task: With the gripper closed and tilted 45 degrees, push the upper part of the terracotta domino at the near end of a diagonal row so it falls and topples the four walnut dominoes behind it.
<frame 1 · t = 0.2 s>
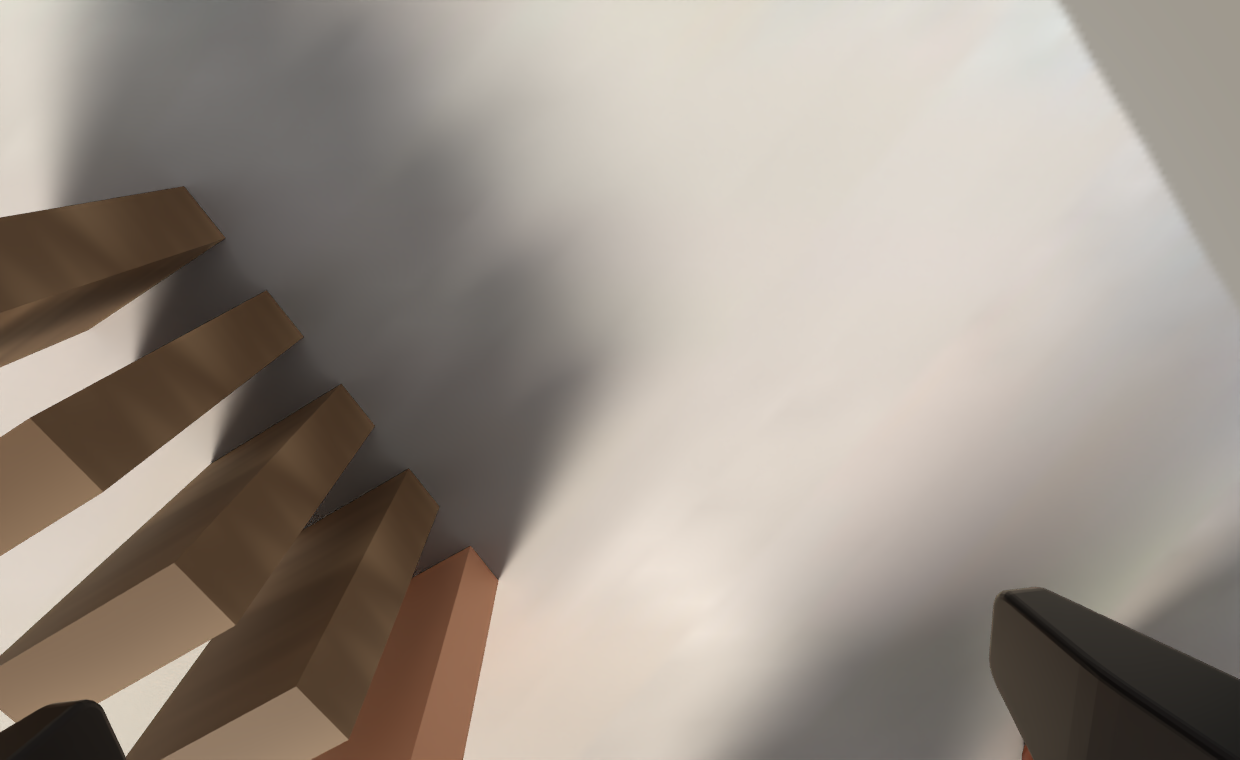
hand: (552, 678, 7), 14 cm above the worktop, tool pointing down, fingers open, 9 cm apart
terracotta domino: (422, 597, 24), on the worktop
walnut domino 2: (360, 524, 23), on the worktop
walnut domino 3: (292, 445, 22), on the worktop
walnut domino 4: (217, 357, 21), on the worktop
walnut domino 5: (134, 260, 19), on the worktop
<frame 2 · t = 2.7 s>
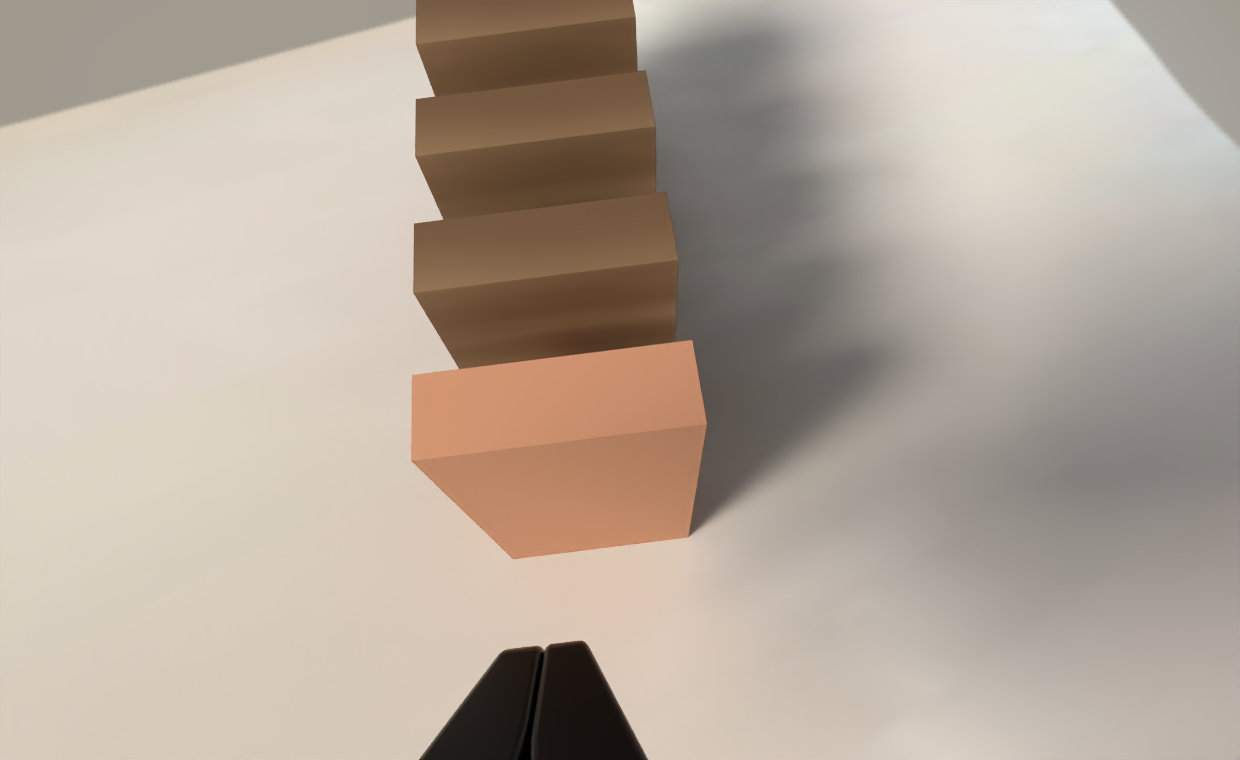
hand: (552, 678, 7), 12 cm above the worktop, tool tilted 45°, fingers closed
terracotta domino: (597, 520, 20), on the worktop
walnut domino 2: (587, 414, 22), on the worktop
walnut domino 3: (577, 321, 23), on the worktop
walnut domino 4: (569, 238, 25), on the worktop
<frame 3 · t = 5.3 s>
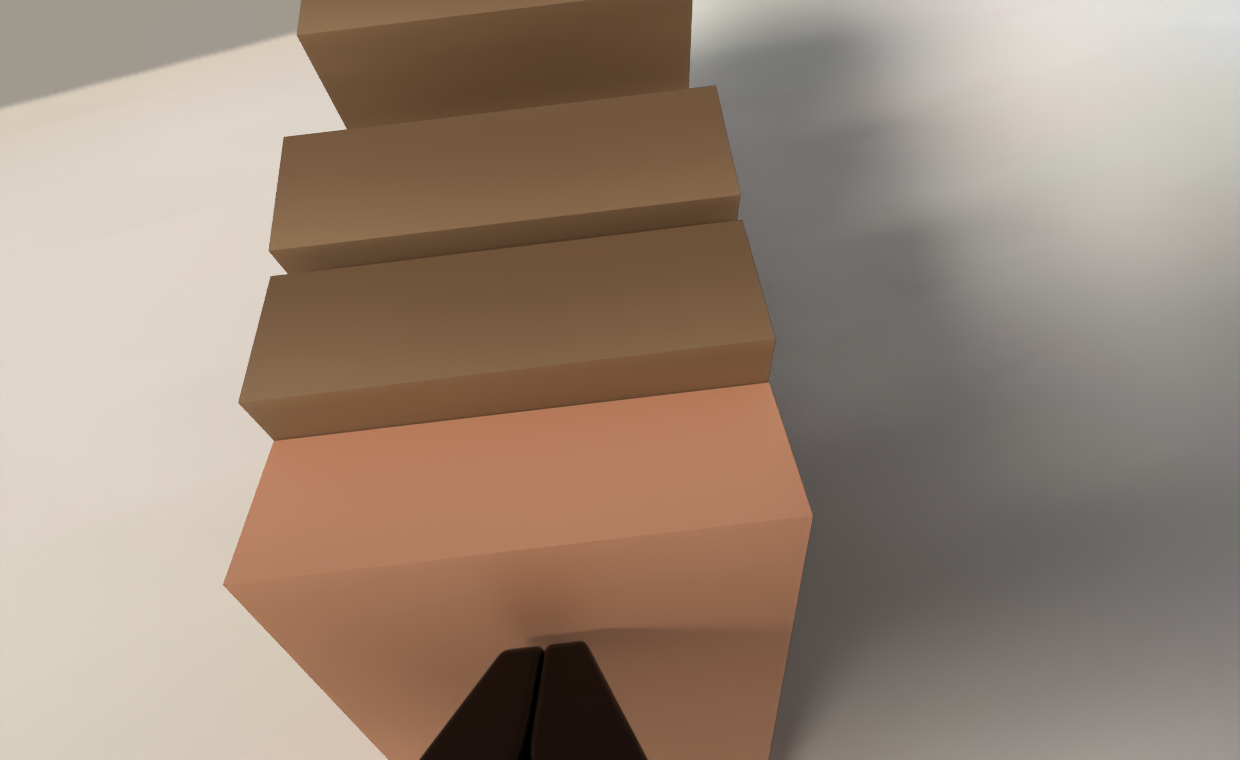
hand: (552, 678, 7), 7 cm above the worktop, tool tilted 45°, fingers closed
walnut domino 2: (596, 595, 14), on the worktop, tilted 9°
walnut domino 3: (583, 445, 16), on the worktop
walnut domino 4: (572, 319, 17), on the worktop
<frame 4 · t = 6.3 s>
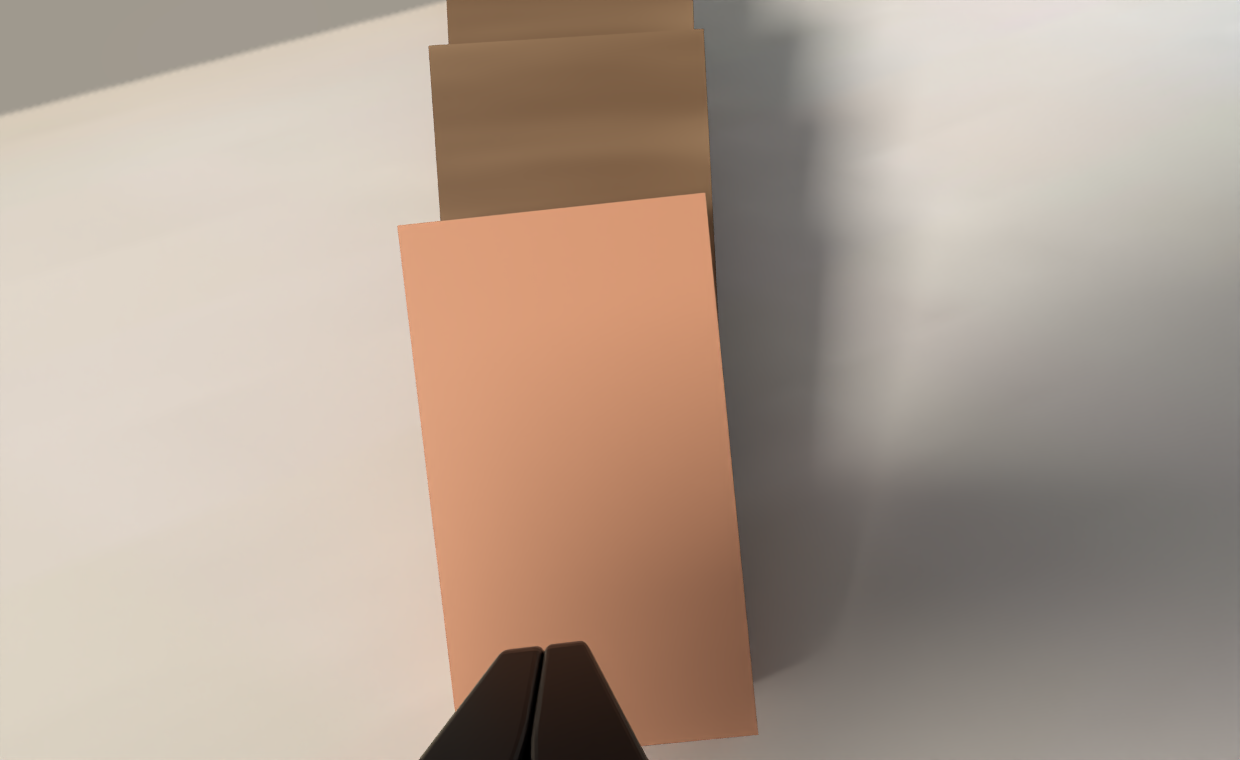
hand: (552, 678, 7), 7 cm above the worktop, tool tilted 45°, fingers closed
terracotta domino: (610, 723, 13), point 1 cm above the worktop, tilted 62°, touching walnut domino 2
walnut domino 2: (596, 516, 14), point 1 cm above the worktop, tilted 62°, touching terracotta domino, walnut domino 3
walnut domino 3: (586, 367, 16), point 1 cm above the worktop, tilted 62°, touching walnut domino 2, walnut domino 4
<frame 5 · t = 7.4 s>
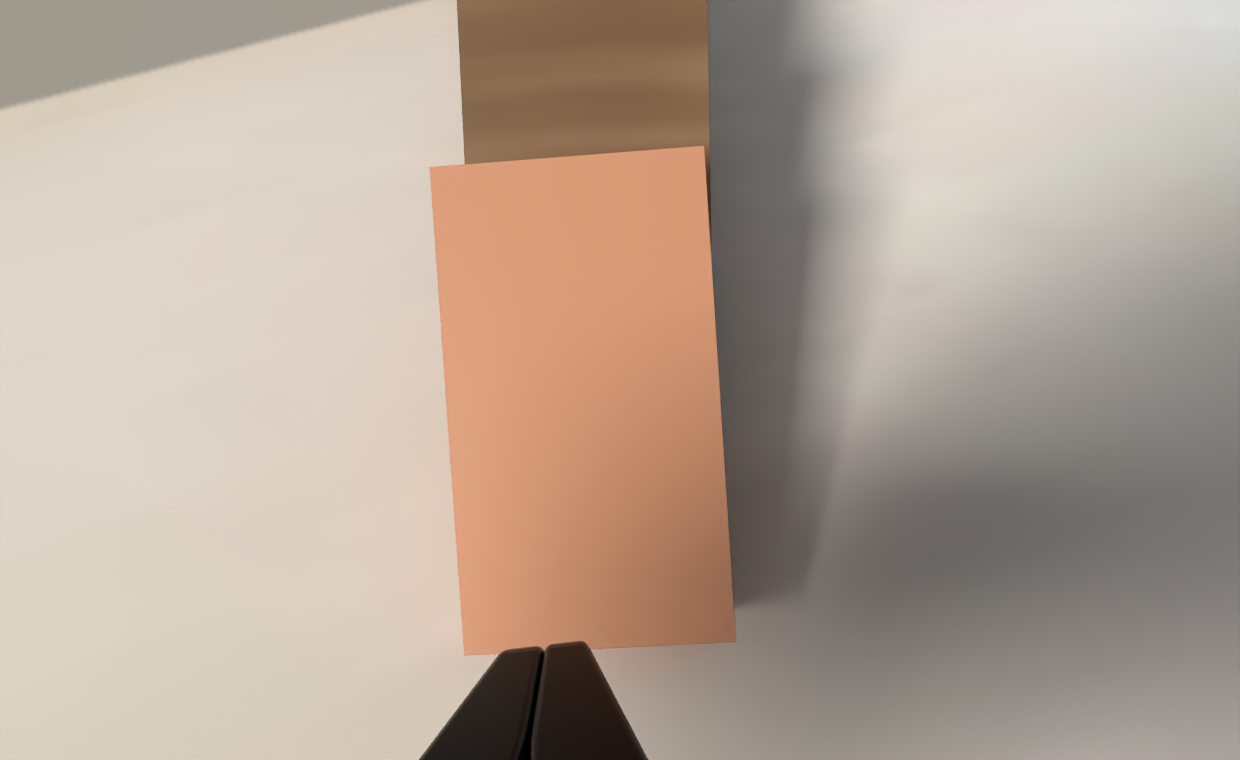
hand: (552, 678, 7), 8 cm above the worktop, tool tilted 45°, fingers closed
terracotta domino: (601, 632, 14), point 1 cm above the worktop, tilted 64°, touching walnut domino 2
walnut domino 2: (597, 416, 16), point 1 cm above the worktop, tilted 60°, touching terracotta domino, walnut domino 3
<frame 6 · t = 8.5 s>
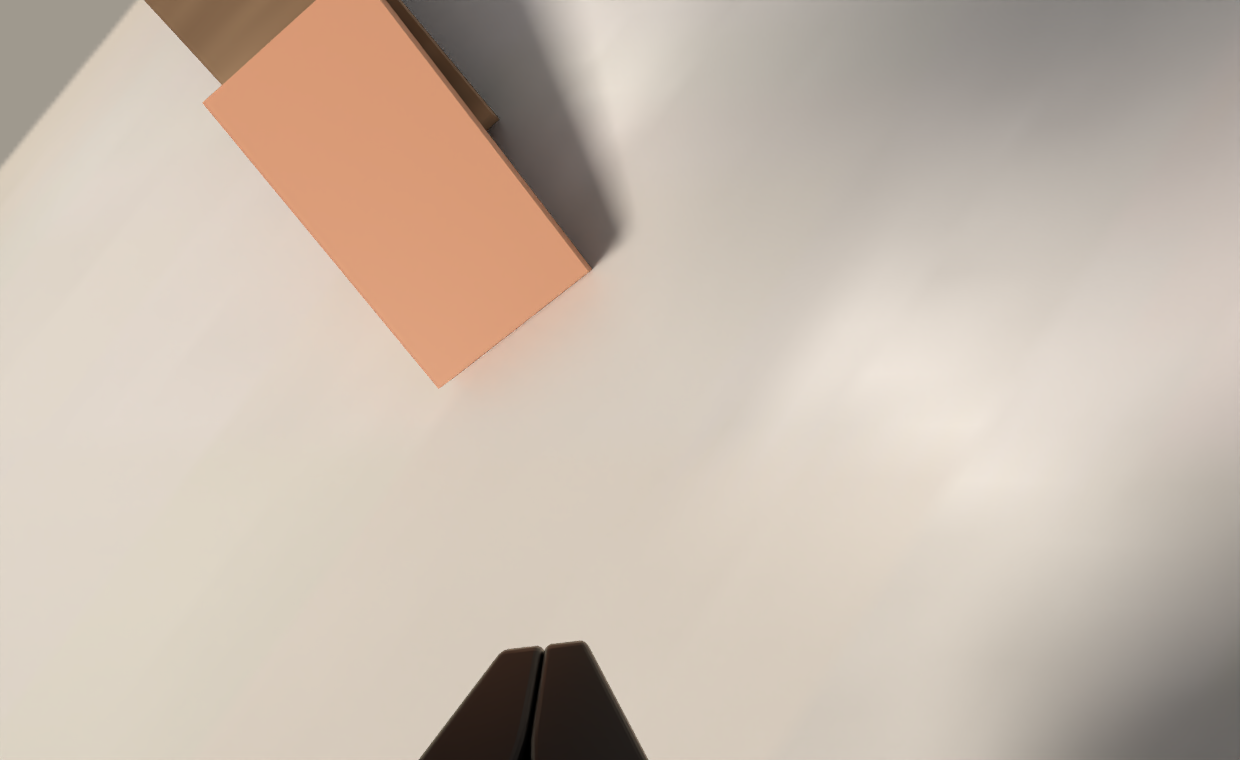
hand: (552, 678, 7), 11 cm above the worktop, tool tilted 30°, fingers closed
terracotta domino: (517, 327, 19), point 1 cm above the worktop, tilted 68°, touching walnut domino 2
walnut domino 2: (430, 175, 20), point 1 cm above the worktop, tilted 63°, touching terracotta domino, walnut domino 3
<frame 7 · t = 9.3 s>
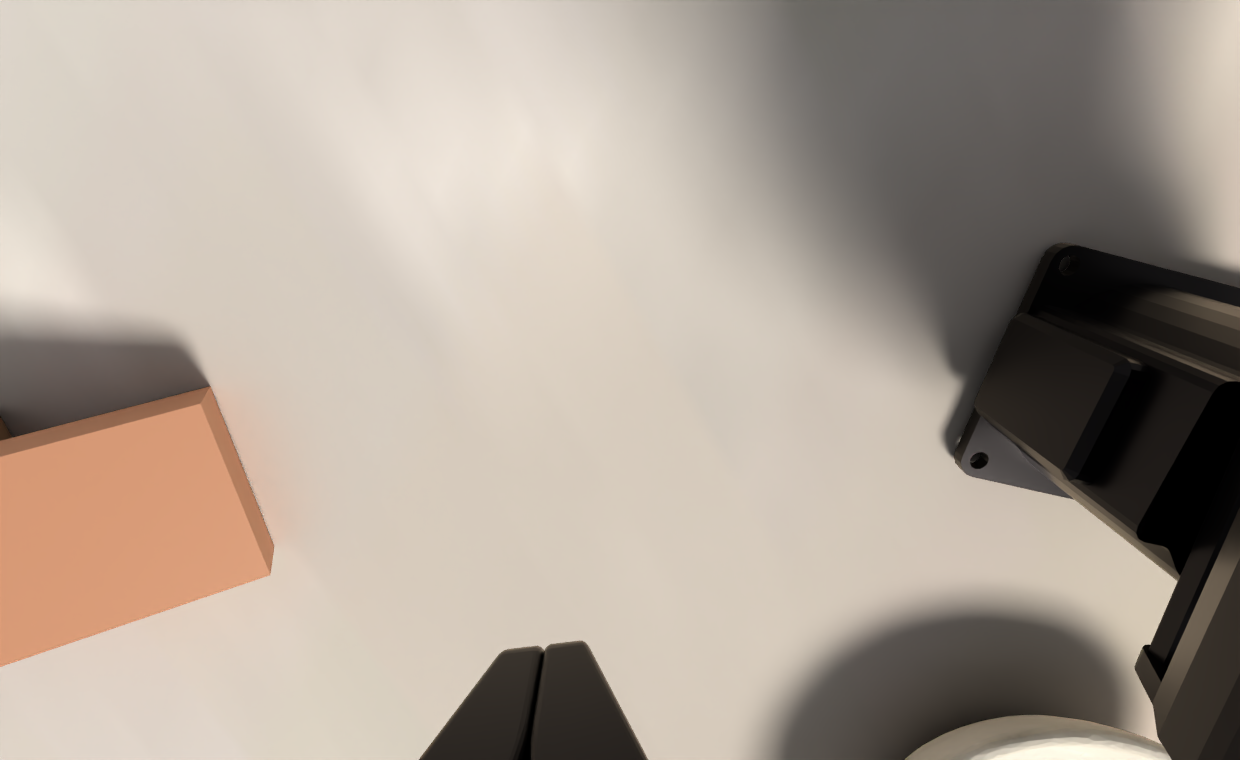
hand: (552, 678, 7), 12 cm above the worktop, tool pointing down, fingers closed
terracotta domino: (240, 481, 19), point 1 cm above the worktop, tilted 69°, touching walnut domino 2
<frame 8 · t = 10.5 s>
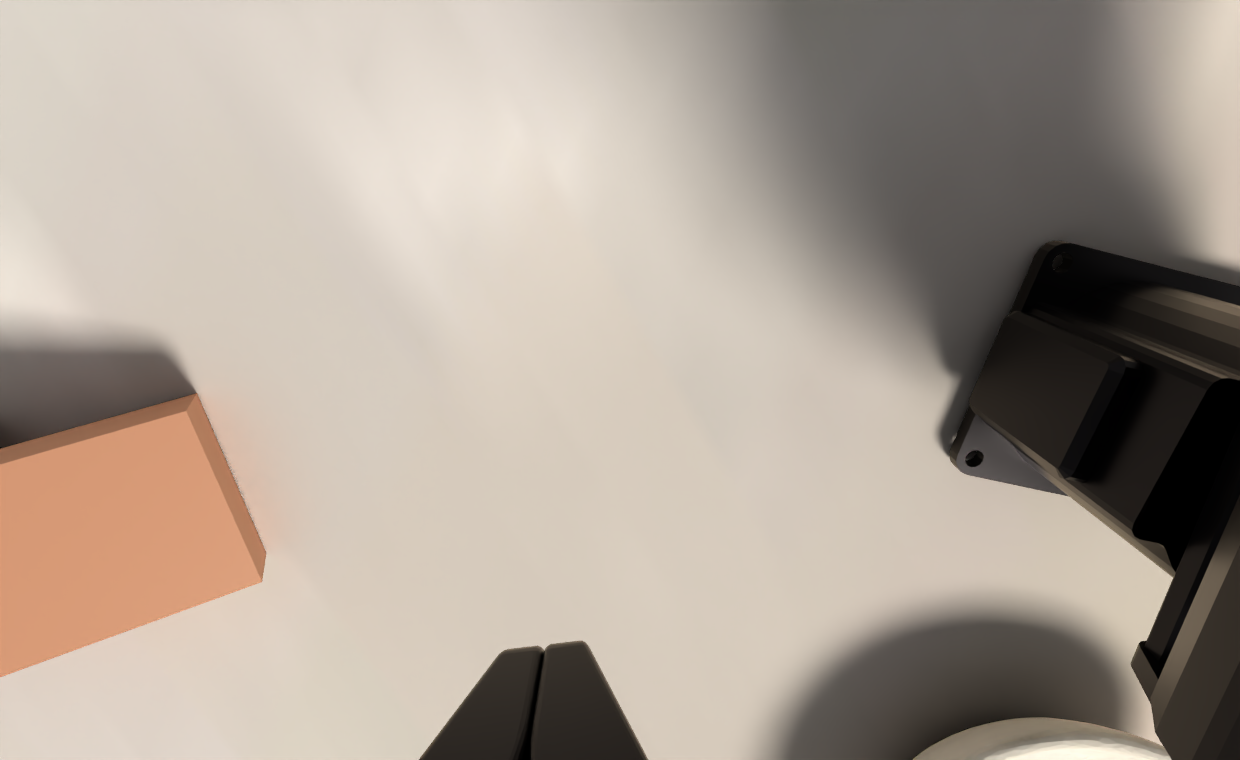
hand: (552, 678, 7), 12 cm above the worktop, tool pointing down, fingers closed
terracotta domino: (229, 488, 19), point 1 cm above the worktop, tilted 70°, touching walnut domino 2
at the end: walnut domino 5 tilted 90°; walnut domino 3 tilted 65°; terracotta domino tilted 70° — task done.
